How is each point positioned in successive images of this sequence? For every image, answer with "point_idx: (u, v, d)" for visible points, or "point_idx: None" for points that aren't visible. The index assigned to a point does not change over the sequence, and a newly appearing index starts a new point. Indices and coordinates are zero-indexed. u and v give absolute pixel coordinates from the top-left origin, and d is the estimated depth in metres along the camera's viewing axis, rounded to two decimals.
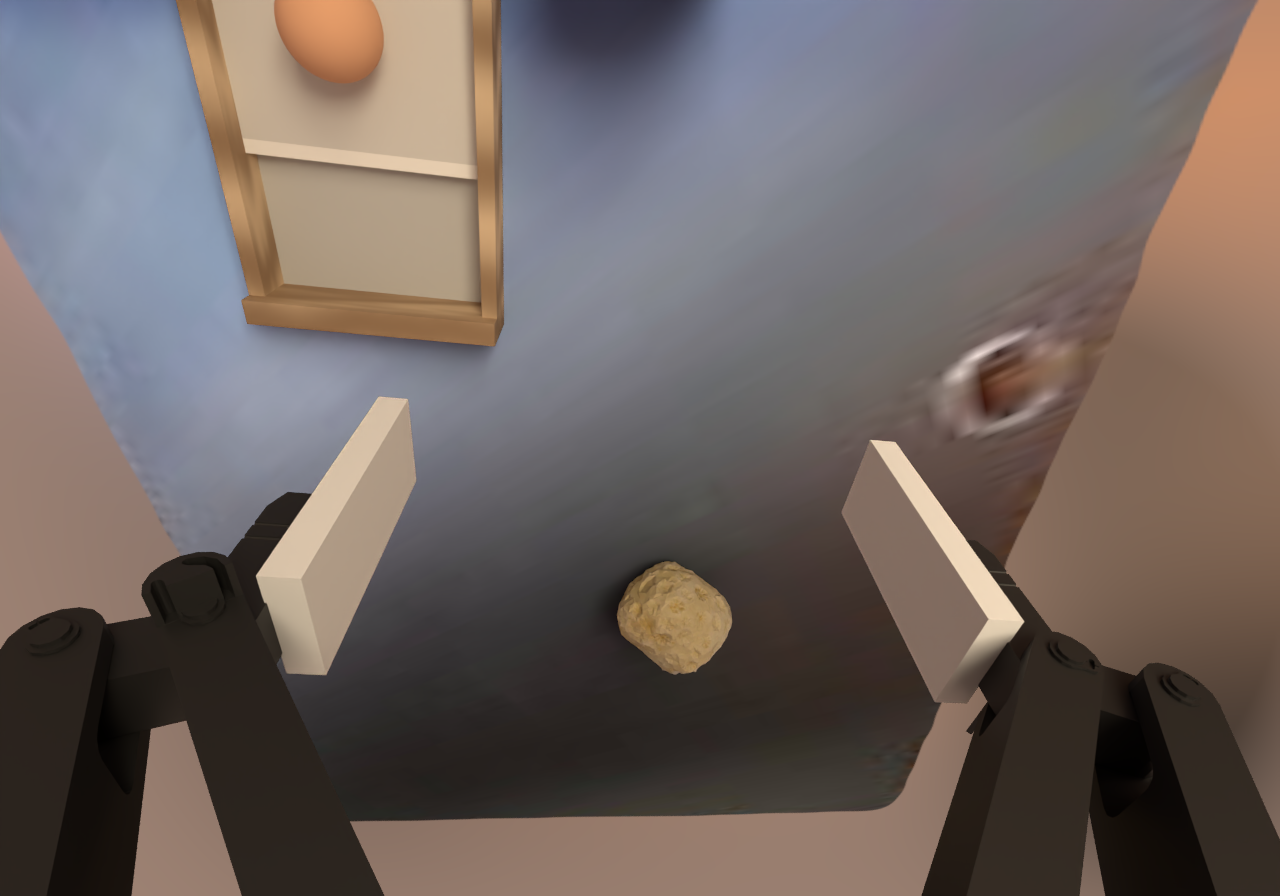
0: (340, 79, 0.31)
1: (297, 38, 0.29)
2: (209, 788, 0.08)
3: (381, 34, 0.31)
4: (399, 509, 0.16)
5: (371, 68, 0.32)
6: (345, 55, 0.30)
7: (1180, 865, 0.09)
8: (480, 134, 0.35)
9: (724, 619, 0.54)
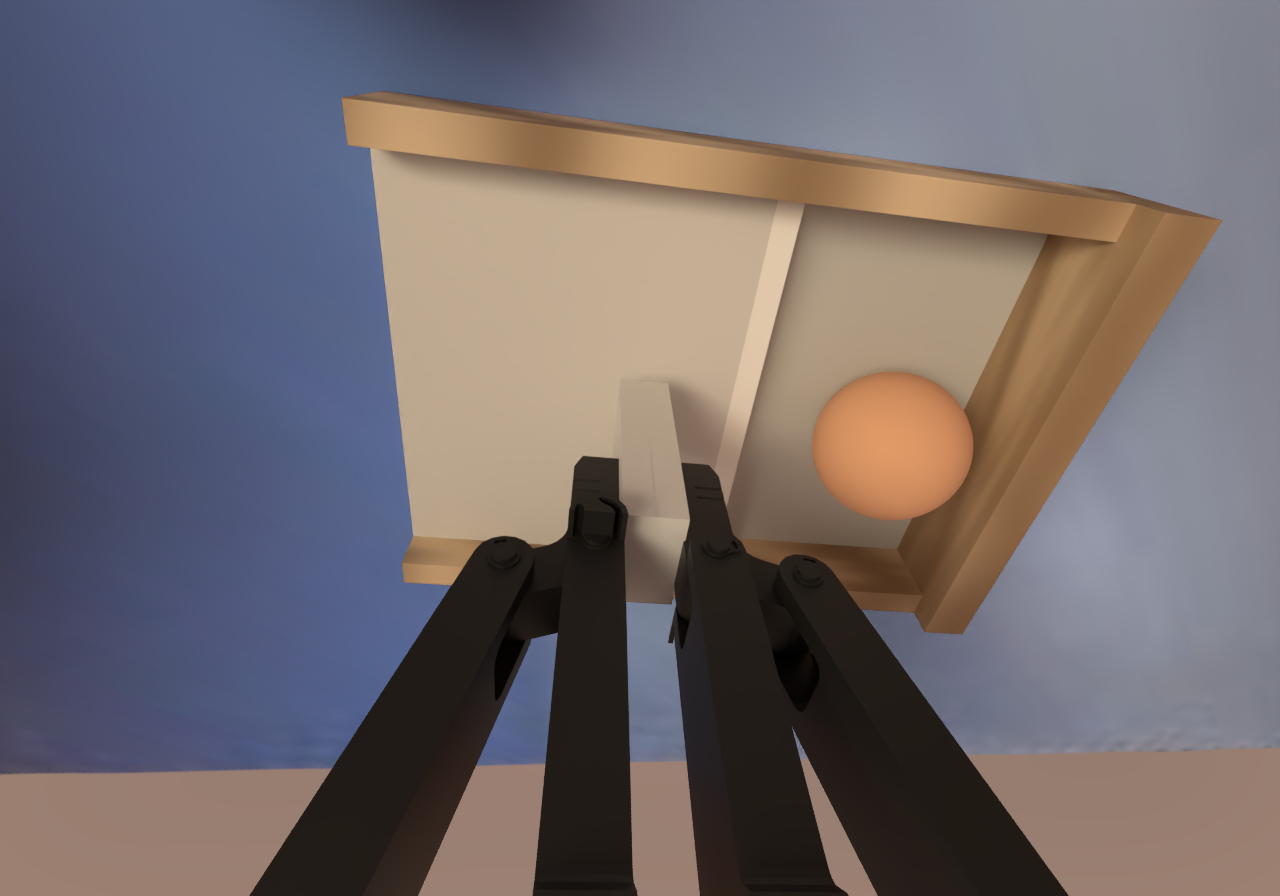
0: (898, 473, 0.18)
1: (824, 473, 0.20)
2: (555, 670, 0.10)
3: (918, 381, 0.19)
4: None
5: (926, 423, 0.18)
6: (860, 430, 0.18)
7: (865, 743, 0.10)
8: (722, 182, 0.15)
9: None
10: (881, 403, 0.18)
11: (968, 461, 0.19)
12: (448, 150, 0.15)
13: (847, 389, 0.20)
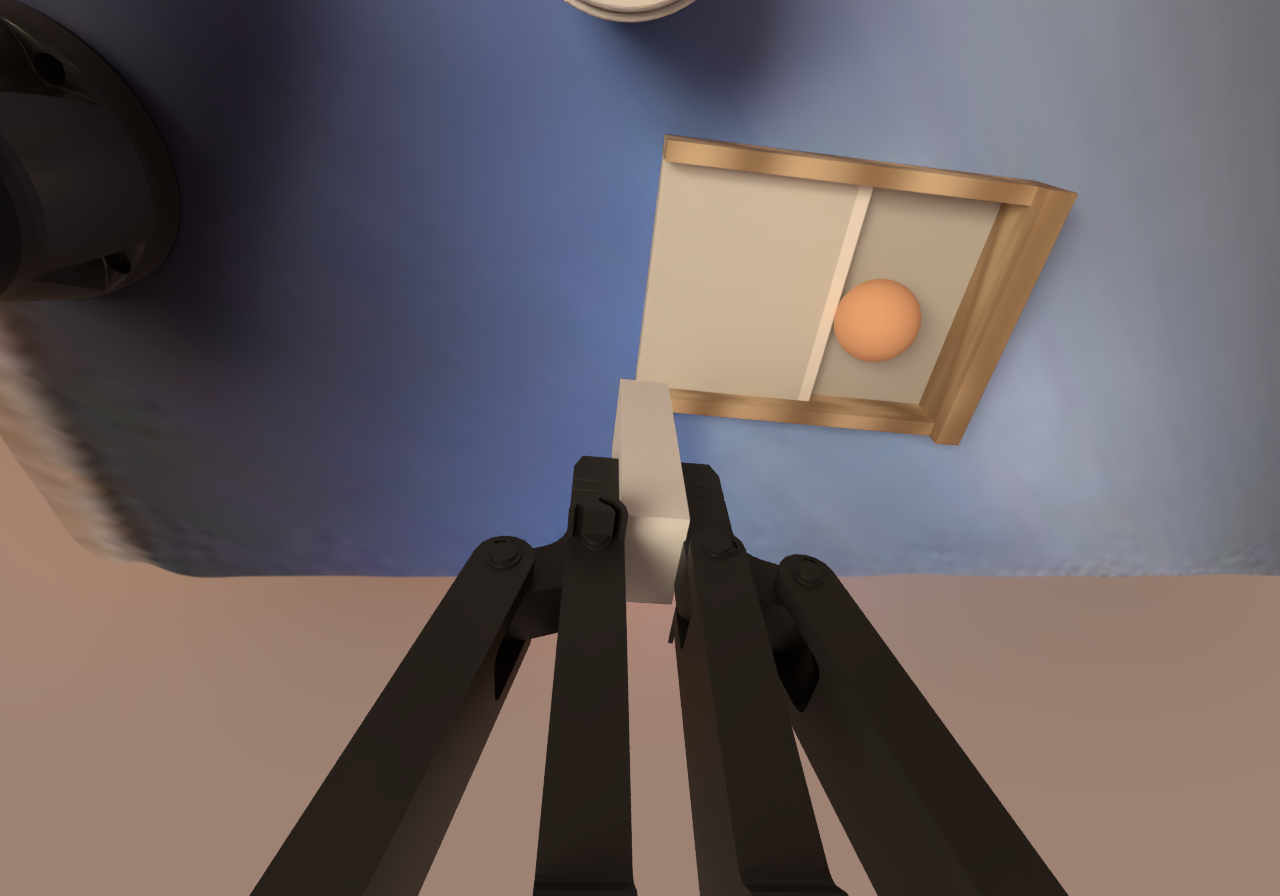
0: (844, 316, 0.36)
1: None
2: (555, 670, 0.10)
3: (889, 282, 0.35)
4: None
5: (866, 295, 0.35)
6: None
7: (865, 743, 0.10)
8: (836, 177, 0.32)
9: None
10: (860, 284, 0.36)
11: (885, 325, 0.34)
12: (710, 163, 0.32)
13: None
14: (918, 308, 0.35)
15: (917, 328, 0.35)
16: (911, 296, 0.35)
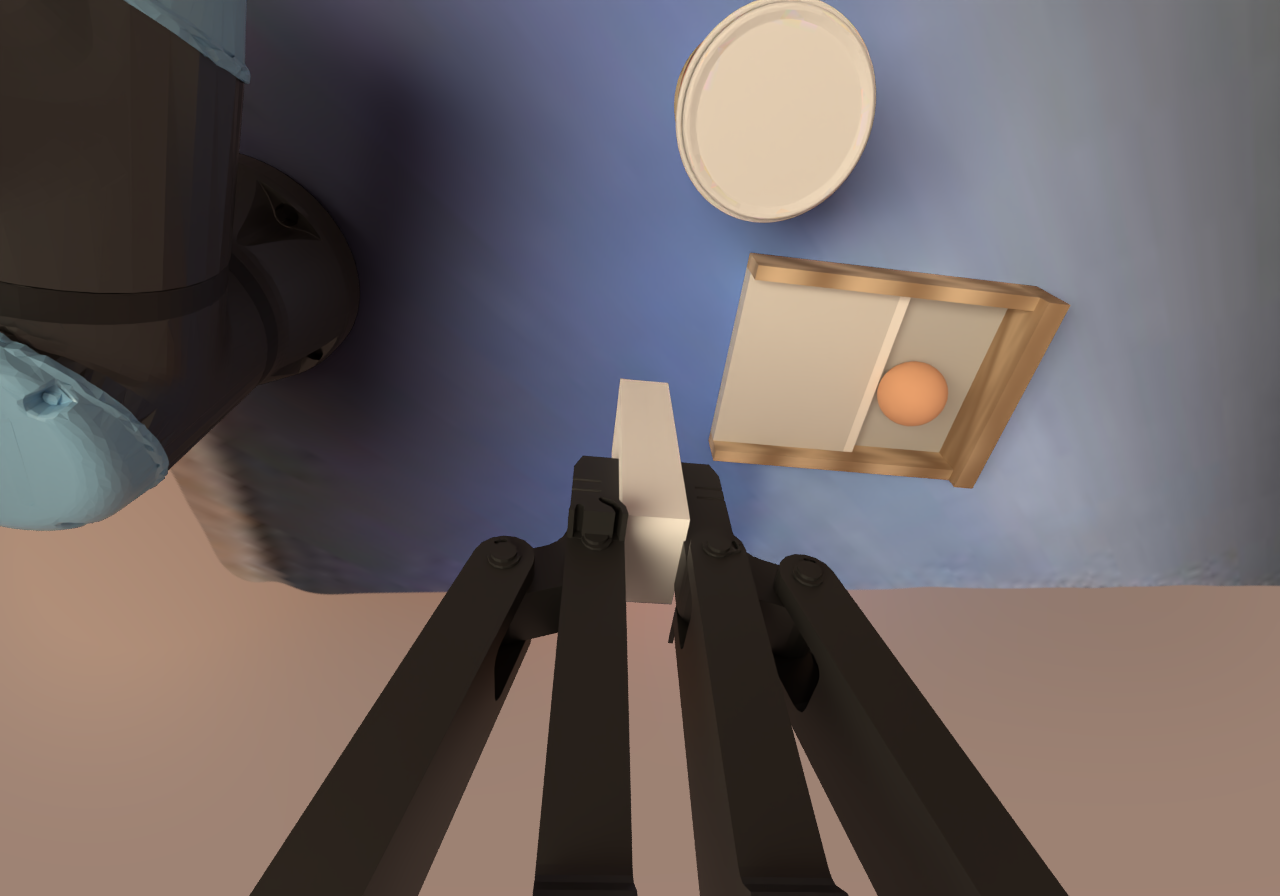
0: (888, 392, 0.45)
1: None
2: (555, 670, 0.10)
3: (924, 366, 0.45)
4: None
5: (907, 377, 0.44)
6: (887, 373, 0.46)
7: (864, 743, 0.10)
8: (885, 291, 0.41)
9: None
10: (900, 366, 0.45)
11: (922, 401, 0.44)
12: (789, 281, 0.41)
13: None
14: (946, 386, 0.45)
15: (945, 402, 0.45)
16: (941, 377, 0.44)
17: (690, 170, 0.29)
